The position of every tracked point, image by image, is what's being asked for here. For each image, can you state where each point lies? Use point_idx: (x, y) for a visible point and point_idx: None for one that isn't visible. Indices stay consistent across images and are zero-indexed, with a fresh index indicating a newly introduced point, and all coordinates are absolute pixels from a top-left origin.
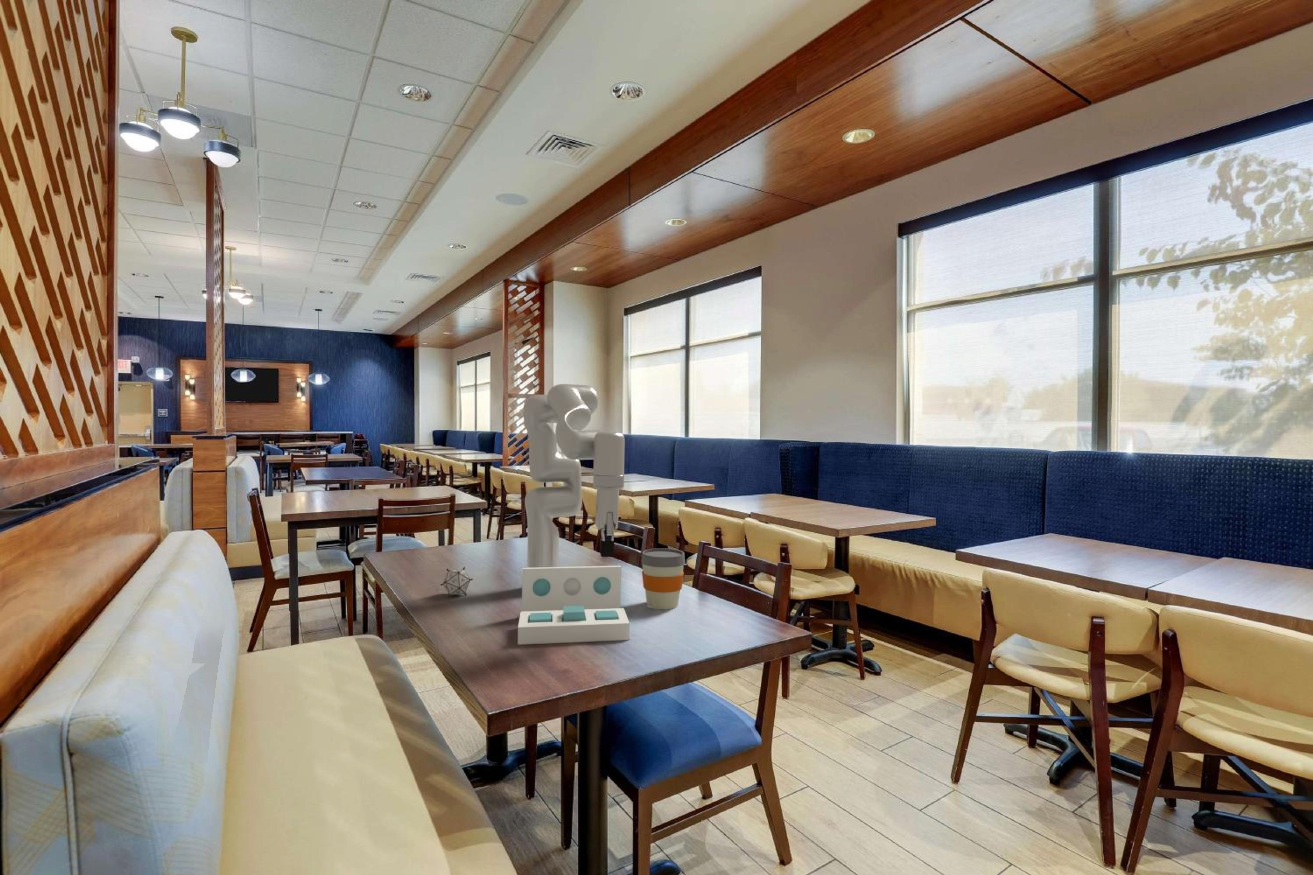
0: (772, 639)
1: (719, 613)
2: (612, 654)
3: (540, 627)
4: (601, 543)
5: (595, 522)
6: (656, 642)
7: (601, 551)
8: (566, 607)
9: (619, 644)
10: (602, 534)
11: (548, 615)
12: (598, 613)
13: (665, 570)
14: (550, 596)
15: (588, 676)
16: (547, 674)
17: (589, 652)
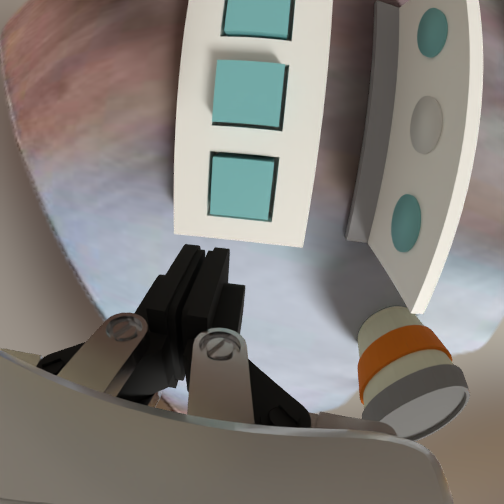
0: (174, 400)
1: (300, 392)
2: (112, 171)
3: (187, 11)
4: (155, 295)
5: (359, 456)
6: (166, 266)
7: (174, 261)
8: (271, 72)
9: (161, 193)
10: (104, 357)
11: (259, 25)
12: (247, 166)
13: (369, 396)
14: (418, 61)
15: (41, 127)
16: (56, 61)
17: (126, 126)
